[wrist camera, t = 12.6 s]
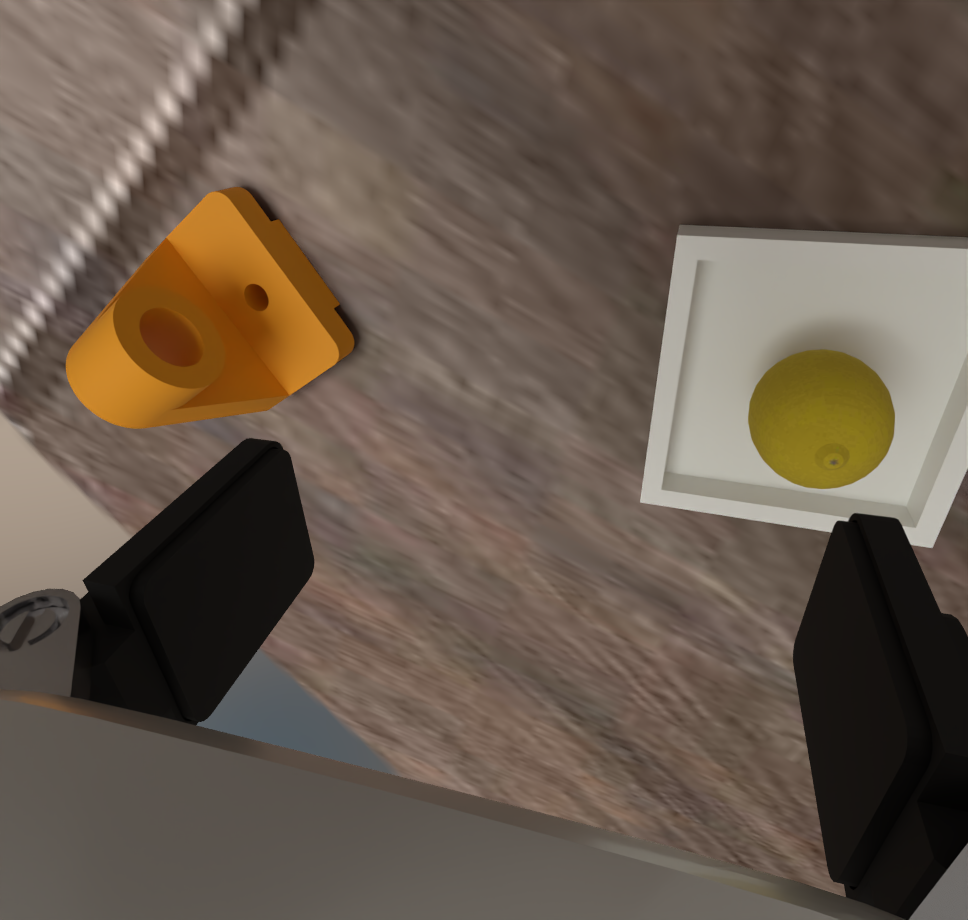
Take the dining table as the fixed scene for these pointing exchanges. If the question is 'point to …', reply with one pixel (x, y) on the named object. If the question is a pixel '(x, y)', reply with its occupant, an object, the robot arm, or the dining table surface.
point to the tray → (800, 327)
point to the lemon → (821, 419)
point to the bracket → (210, 323)
